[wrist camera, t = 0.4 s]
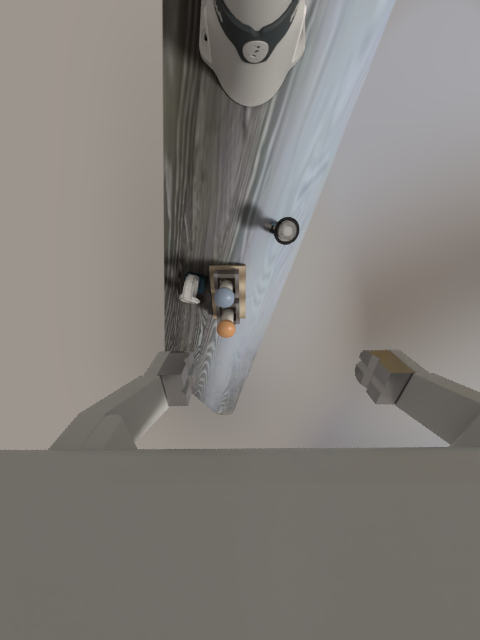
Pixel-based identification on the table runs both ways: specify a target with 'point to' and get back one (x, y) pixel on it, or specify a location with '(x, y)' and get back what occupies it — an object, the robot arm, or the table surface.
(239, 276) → the mount
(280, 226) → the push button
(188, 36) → the table surface
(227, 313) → the knob
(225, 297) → the knob
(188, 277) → the watch
